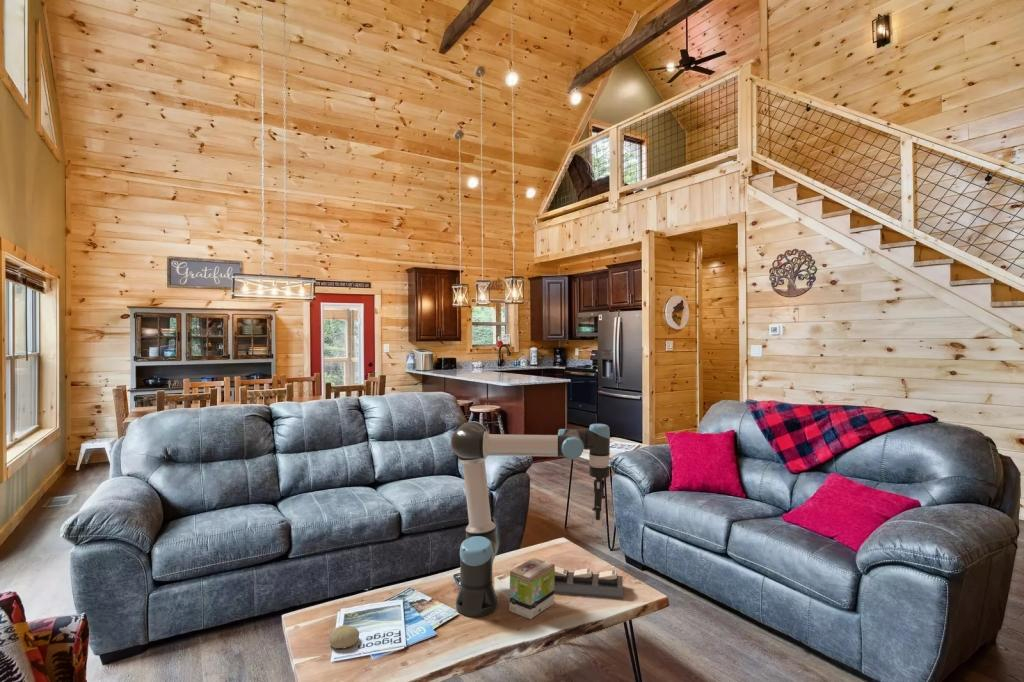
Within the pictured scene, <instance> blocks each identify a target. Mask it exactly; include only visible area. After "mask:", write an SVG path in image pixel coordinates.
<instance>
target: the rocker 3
mask: <svg viewBox="0 0 1024 682" xmlns="http://www.w3.org/2000/svg"><path fill="white" fill-rule="evenodd" d="M598 574H599V579H605V580H613V579H617V574H618V572H617V570H616V569H612V570H605V571H599V572H598Z"/></svg>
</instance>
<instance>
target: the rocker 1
mask: <svg viewBox="0 0 1024 682" xmlns="http://www.w3.org/2000/svg"><path fill="white" fill-rule="evenodd" d="M567 570H568V569H565V568H562V567H560V566H557V565H555V576H566V575H567Z"/></svg>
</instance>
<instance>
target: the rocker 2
mask: <svg viewBox="0 0 1024 682" xmlns="http://www.w3.org/2000/svg"><path fill="white" fill-rule="evenodd" d="M574 571H575V572H574ZM574 571H573V572H574V577H580V578H588V577H591V576H592V572H593V571H592V568H591V567H588V568H581V569H577V570H575V569H574Z"/></svg>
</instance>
